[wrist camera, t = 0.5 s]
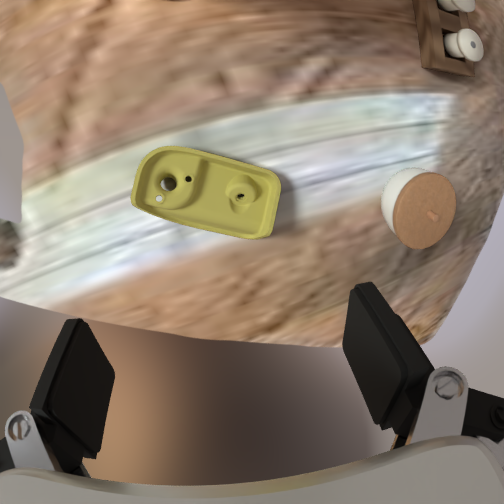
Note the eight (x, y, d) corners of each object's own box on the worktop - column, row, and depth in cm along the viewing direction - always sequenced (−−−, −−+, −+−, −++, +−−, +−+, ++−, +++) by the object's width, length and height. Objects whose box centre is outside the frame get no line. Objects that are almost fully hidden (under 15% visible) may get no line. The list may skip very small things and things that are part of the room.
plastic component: (284, 174, 42) (269, 243, 42) (266, 181, 49) (253, 240, 49) (146, 138, 36) (126, 211, 36) (147, 151, 43) (131, 214, 43)
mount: (460, 75, 37) (474, 77, 33) (421, 67, 36) (436, 67, 33) (437, -46, 23) (449, -51, 20) (395, -62, 23) (407, -68, 19)
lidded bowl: (434, 170, 46) (473, 190, 36) (412, 231, 52) (445, 260, 42) (381, 150, 43) (420, 167, 34) (359, 219, 49) (390, 250, 40)
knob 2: (435, 36, 31) (456, 34, 26) (452, 26, 29) (473, 24, 25) (451, 65, 33) (472, 66, 28) (467, 54, 32) (488, 54, 27)
